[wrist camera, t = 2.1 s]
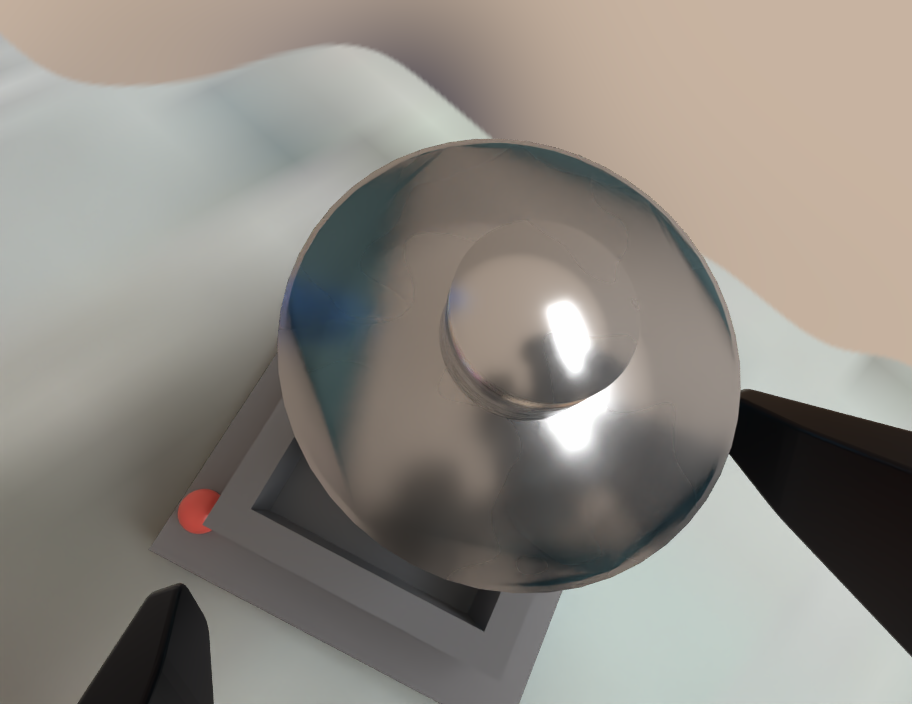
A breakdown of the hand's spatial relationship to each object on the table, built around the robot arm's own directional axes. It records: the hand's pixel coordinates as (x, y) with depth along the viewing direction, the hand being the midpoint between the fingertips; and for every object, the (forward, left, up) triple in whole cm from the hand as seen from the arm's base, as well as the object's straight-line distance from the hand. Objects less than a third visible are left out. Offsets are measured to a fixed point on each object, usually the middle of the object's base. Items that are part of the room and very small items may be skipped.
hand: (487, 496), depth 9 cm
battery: (+1, -1, -8) cm, 8 cm away
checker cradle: (+1, -1, -9) cm, 9 cm away
